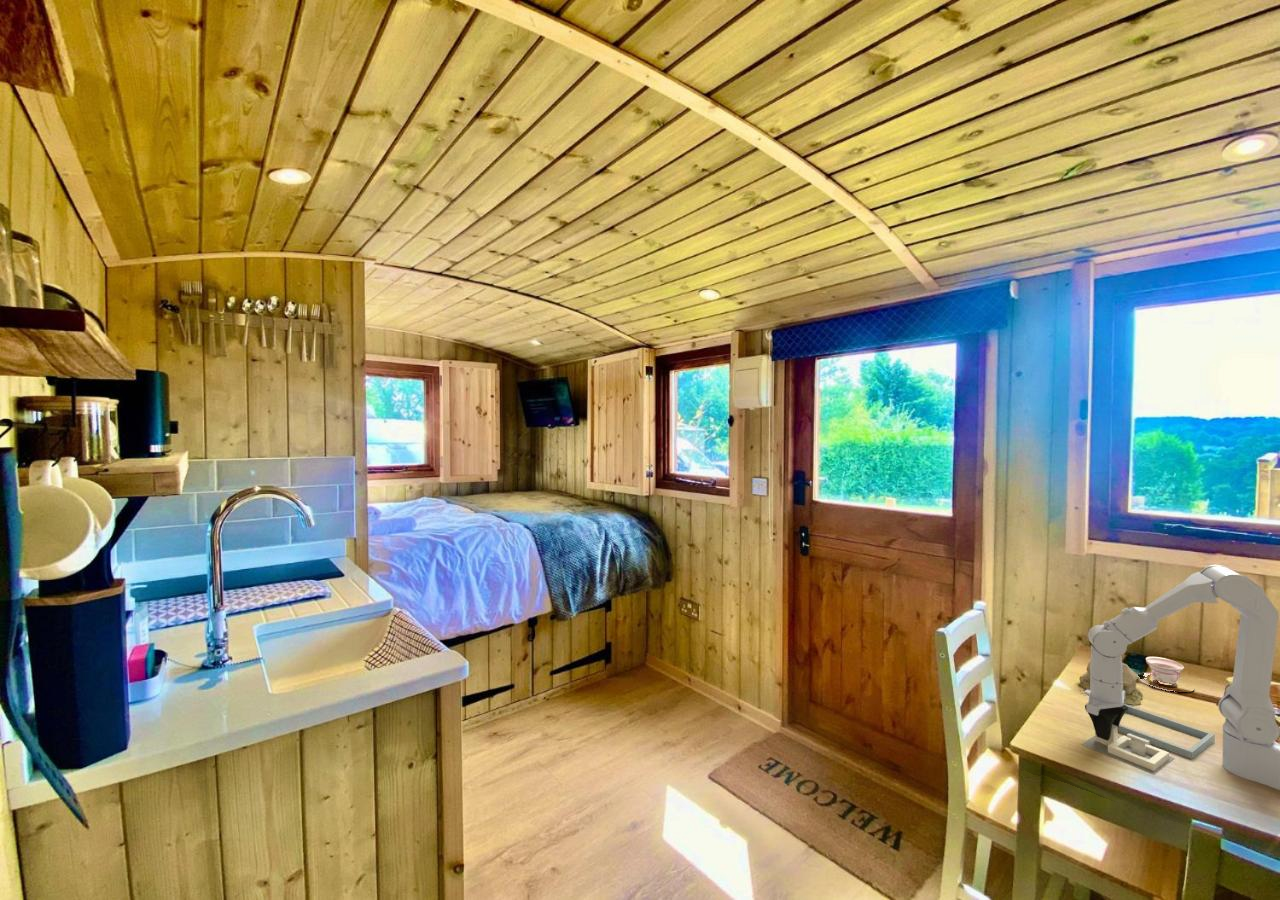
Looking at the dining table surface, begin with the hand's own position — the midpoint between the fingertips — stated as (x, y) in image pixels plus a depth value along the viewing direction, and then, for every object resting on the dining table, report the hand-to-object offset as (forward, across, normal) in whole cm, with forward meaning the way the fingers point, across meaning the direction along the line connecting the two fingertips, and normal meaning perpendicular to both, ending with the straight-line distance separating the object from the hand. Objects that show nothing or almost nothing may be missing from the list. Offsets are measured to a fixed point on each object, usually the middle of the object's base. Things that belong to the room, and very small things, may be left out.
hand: (1106, 735), depth 126 cm
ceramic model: (+3, -32, -11) cm, 34 cm away
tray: (+3, -15, +4) cm, 16 cm away
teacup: (+3, -51, -5) cm, 52 cm away
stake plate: (+3, 0, +4) cm, 5 cm away
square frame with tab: (+2, 0, +4) cm, 4 cm away
